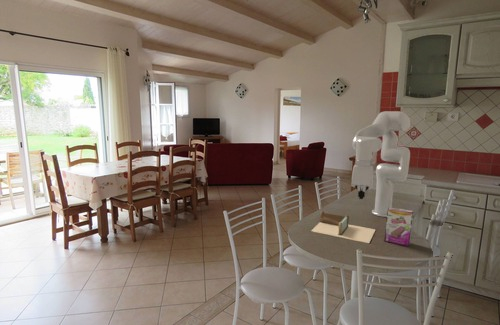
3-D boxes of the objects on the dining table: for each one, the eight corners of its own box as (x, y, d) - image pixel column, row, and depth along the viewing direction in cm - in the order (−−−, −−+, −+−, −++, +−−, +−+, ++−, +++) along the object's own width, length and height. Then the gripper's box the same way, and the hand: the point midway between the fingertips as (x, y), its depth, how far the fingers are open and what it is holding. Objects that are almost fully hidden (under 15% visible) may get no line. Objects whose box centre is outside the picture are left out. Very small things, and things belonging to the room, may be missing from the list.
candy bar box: (384, 241, 150) (386, 209, 147) (385, 238, 154) (388, 206, 152) (409, 246, 145) (413, 213, 142) (410, 243, 149) (413, 210, 146)
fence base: (320, 221, 177) (320, 210, 175) (348, 227, 169) (349, 215, 168) (319, 222, 175) (319, 211, 174) (347, 228, 167) (348, 216, 166)
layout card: (322, 220, 179) (322, 219, 179) (375, 230, 165) (375, 229, 164) (310, 231, 162) (311, 230, 162) (369, 243, 148) (369, 242, 147)
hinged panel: (347, 227, 167) (347, 216, 166) (341, 234, 157) (341, 223, 156) (344, 226, 167) (344, 216, 166) (338, 233, 157) (338, 222, 156)
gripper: (379, 163, 154) (377, 198, 157) (348, 161, 160) (347, 194, 164) (379, 165, 147) (376, 202, 151) (346, 163, 154) (345, 198, 157)
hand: (361, 198), depth 157 cm, fingers closed
